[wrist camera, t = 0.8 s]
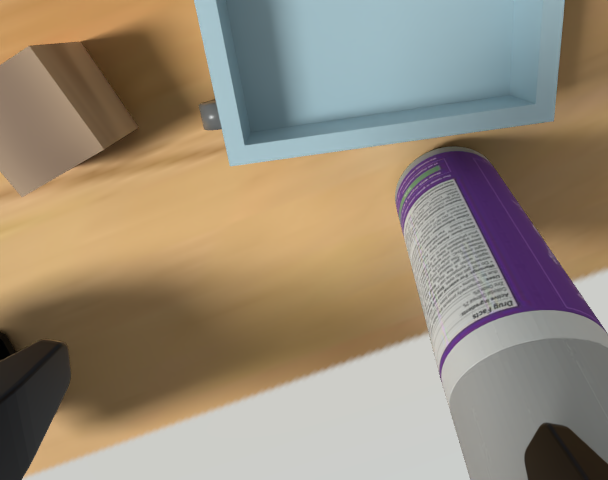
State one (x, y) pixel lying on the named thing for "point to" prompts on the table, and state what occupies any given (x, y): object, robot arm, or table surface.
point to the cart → (374, 71)
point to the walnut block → (55, 113)
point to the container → (499, 315)
